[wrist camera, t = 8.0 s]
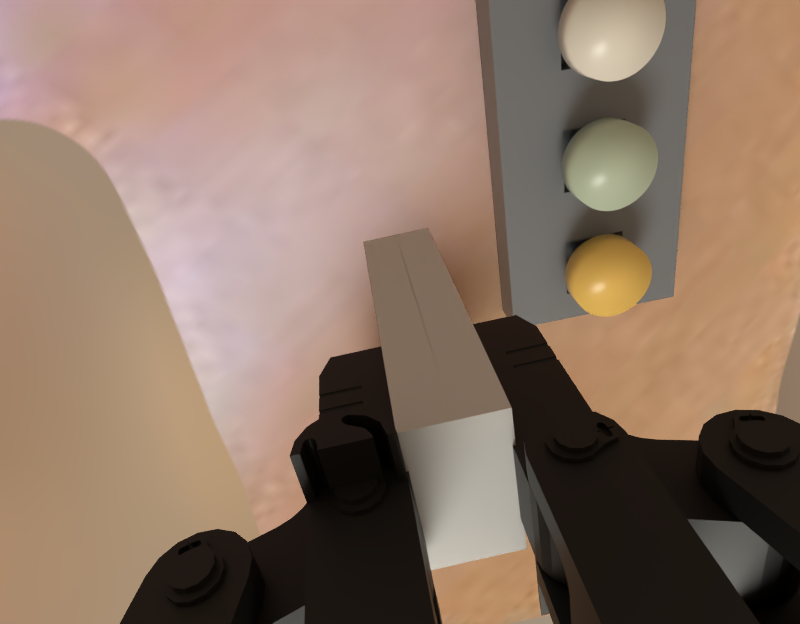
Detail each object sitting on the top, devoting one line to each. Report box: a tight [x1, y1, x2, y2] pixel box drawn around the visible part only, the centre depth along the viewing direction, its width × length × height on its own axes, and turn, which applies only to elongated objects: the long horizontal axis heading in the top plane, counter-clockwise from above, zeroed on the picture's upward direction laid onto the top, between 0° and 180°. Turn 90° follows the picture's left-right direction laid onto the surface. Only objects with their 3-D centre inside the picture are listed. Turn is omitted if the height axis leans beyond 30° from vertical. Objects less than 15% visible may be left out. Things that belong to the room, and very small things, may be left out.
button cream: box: [558, 0, 666, 82], centre depth 32 cm, size 5×5×4 cm
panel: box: [476, 0, 696, 325], centre depth 38 cm, size 23×12×3 cm, turn 9°
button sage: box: [561, 117, 658, 211], centre depth 36 cm, size 5×5×4 cm
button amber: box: [564, 234, 652, 317], centre depth 39 cm, size 5×5×4 cm
